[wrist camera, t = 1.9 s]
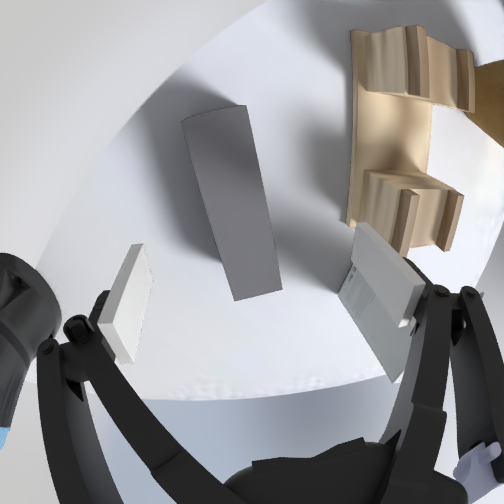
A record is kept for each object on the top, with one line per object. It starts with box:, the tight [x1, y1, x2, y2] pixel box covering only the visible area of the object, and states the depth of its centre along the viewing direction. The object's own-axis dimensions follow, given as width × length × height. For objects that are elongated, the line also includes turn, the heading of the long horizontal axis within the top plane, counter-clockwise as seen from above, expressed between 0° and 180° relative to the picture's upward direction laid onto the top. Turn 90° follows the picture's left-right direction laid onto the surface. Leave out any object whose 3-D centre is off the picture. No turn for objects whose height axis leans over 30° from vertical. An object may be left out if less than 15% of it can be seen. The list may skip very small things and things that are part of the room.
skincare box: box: [338, 263, 416, 384], centre depth 28 cm, size 8×6×15 cm
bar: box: [181, 105, 282, 301], centre depth 23 cm, size 4×16×6 cm, turn 11°
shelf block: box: [346, 25, 475, 257], centre depth 20 cm, size 10×21×8 cm, turn 3°
